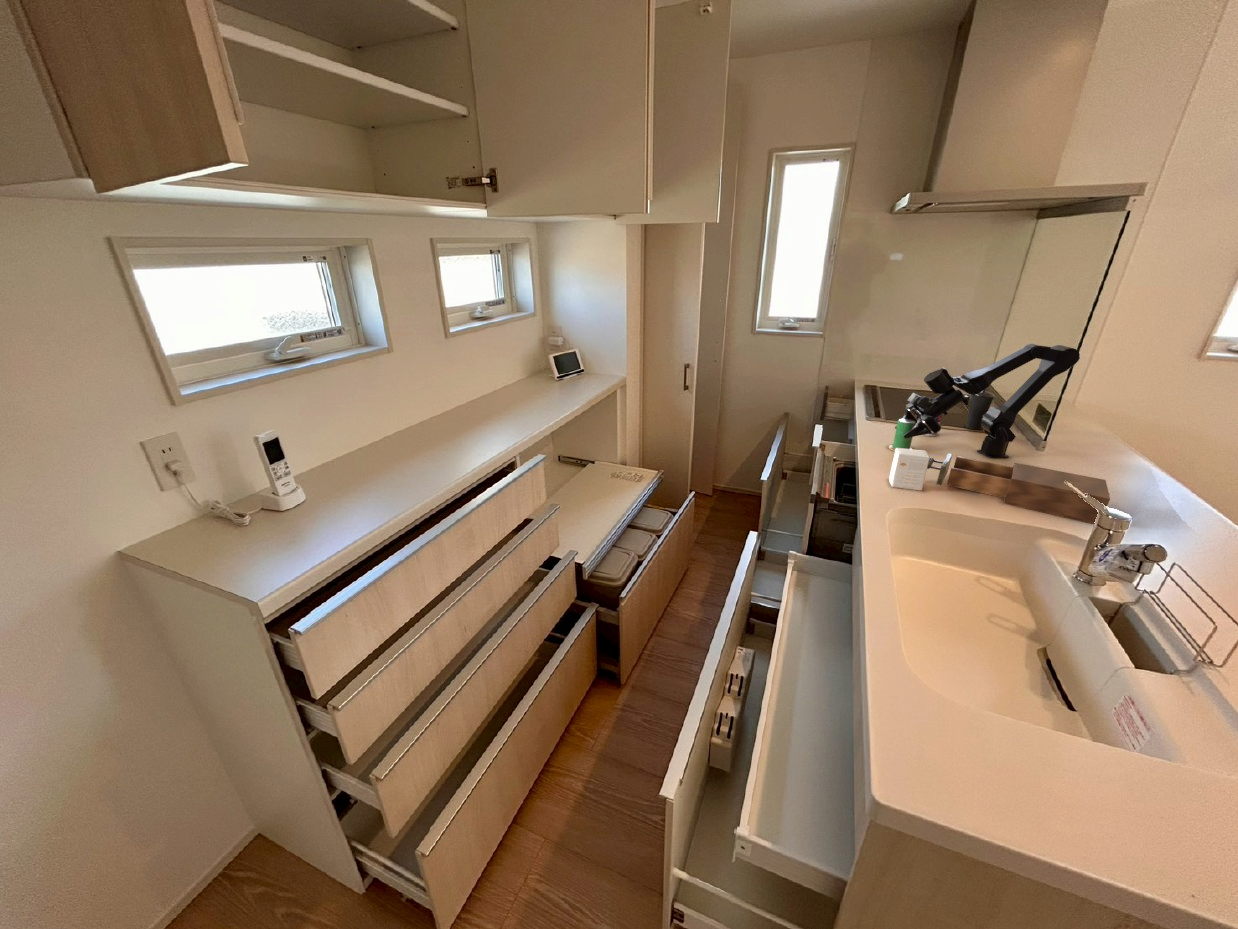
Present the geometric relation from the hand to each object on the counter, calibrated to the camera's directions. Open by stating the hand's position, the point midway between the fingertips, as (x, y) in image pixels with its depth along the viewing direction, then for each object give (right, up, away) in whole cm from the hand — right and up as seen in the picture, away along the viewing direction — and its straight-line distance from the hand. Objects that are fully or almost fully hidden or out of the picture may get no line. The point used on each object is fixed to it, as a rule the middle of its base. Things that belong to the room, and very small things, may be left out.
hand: (899, 432), depth 171 cm
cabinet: (+20, -22, -37) cm, 47 cm away
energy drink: (+21, +1, +17) cm, 27 cm away
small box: (-13, -17, -25) cm, 33 cm away
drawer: (+5, -16, -26) cm, 31 cm away
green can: (+1, -5, +2) cm, 6 cm away
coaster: (+1, -6, +2) cm, 6 cm away
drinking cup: (+42, +3, +24) cm, 48 cm away
